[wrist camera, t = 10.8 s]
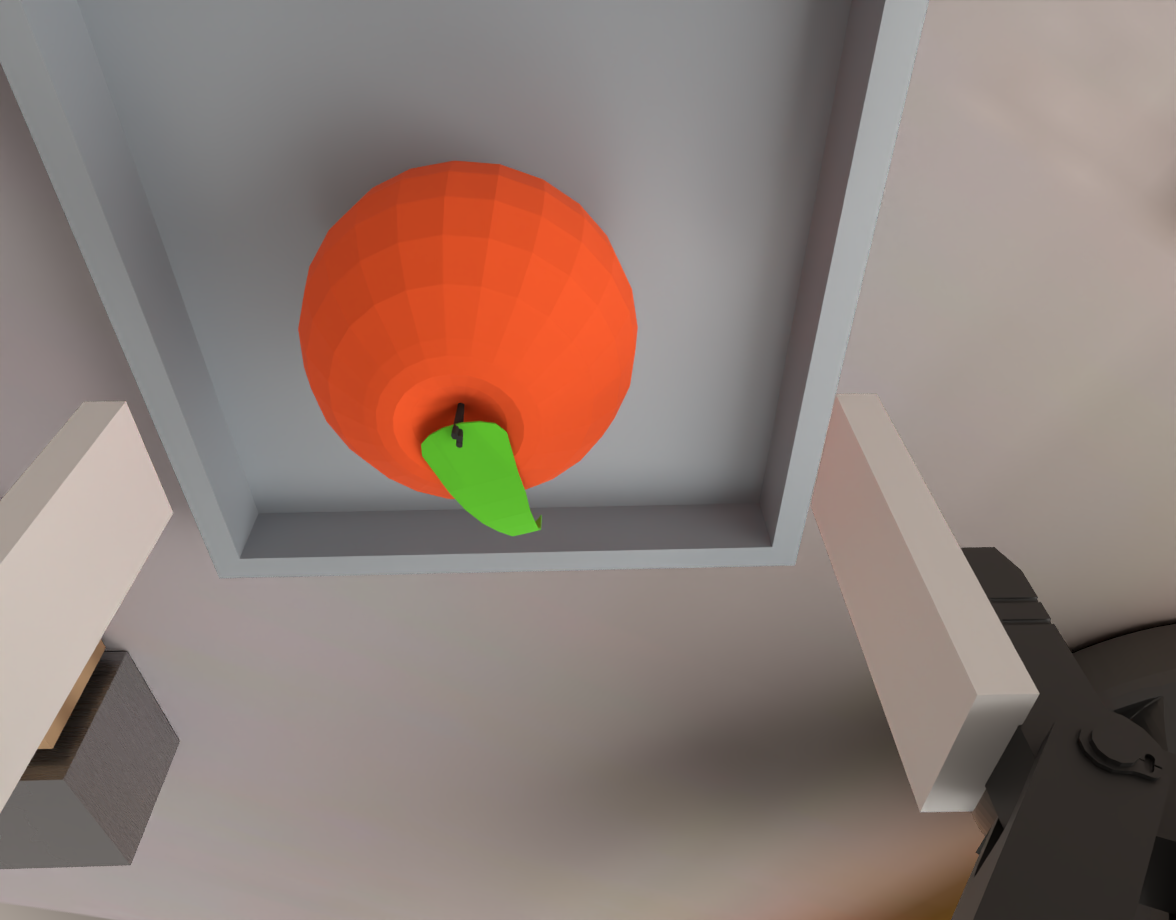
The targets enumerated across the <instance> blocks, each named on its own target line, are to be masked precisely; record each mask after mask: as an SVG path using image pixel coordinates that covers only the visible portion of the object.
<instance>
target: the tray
mask: <svg viewBox="0 0 1176 920" xmlns="http://www.w3.org/2000/svg"><path fill="white" fill-rule="evenodd" d="M928 3H929V0H0V63H1V65H2V68H3V70H4V72H5V75H6V77H7V80H8V82H9V84H10V87H11V89H12V91H13V94H14V96H15V98H16V101H17V103H18V105H19V108H20V110H21V112H22V115H23V117H24V119H25V122H26V124H27V127H28V129H29V131H30V134H31V136H32V138H33V141H34V143H35V145H36V148H37V150H38V152H39V155H40V157H41V159H42V162H43V164H44V167H45V169H46V171H47V174H48V176H49V178H50V181H51V183H52V185H53V188H54V190H55V192H56V195H57V197H58V199H59V202H60V204H61V207H62V209H63V211H64V214H65V216H66V218H67V221H68V223H69V225H70V228H71V230H72V232H73V235H74V237H75V239H76V242H77V244H78V247H79V249H80V251H81V254H82V256H83V258H84V261H85V263H86V265H87V268H88V270H89V272H90V275H91V277H92V279H93V282H94V284H95V286H96V289H97V291H98V294H99V296H100V298H101V301H102V303H103V305H104V308H105V310H106V312H107V315H108V317H109V319H110V322H111V324H112V326H113V329H114V331H115V334H116V336H117V338H118V341H119V343H120V345H121V348H122V350H123V352H124V355H125V357H126V359H127V362H128V364H129V366H130V369H131V371H132V374H133V376H134V378H135V381H136V383H137V385H138V388H139V390H140V392H141V395H142V397H143V399H144V402H145V404H146V406H147V409H148V411H149V413H150V416H151V418H152V421H153V423H154V425H155V428H156V430H157V432H158V435H159V437H160V439H161V442H162V444H163V446H164V449H165V451H166V453H167V456H168V458H169V461H170V463H171V465H172V468H173V470H174V472H175V475H176V477H177V479H178V482H179V484H180V486H181V489H182V491H183V493H184V496H185V498H186V501H187V503H188V505H189V508H190V510H191V512H192V515H193V517H194V519H195V522H196V524H197V526H198V529H199V531H200V533H201V536H202V538H203V541H204V543H205V545H206V548H207V550H208V552H209V555H210V557H211V559H212V562H213V564H214V566H215V569H216V571H217V573H218V576H219V578H257V577H302V576H346V575H391V574H436V573H481V572H525V571H570V570H615V569H660V568H704V567H749V566H794V565H795V564H796V559H797V555H798V551H799V547H800V543H801V538H802V534H803V530H804V526H805V522H806V517H807V513H808V509H809V505H810V500H811V496H812V492H813V488H814V484H815V479H816V475H817V471H818V467H819V463H820V458H821V454H822V450H823V446H824V441H825V437H826V433H827V429H828V425H829V420H830V416H831V412H832V408H833V404H834V399H835V395H836V391H837V387H838V382H839V378H840V374H841V370H842V366H843V361H844V357H845V353H846V349H847V345H848V340H849V336H850V332H851V328H852V323H853V319H854V315H855V311H856V307H857V302H858V298H859V294H860V290H861V286H862V281H863V277H864V273H865V269H866V264H867V260H868V256H869V252H870V248H871V243H872V239H873V235H874V231H875V227H876V222H877V218H878V214H879V210H880V205H881V201H882V197H883V193H884V189H885V184H886V180H887V176H888V172H889V168H890V163H891V159H892V155H893V151H894V146H895V142H896V138H897V134H898V130H899V125H900V121H901V117H902V113H903V109H904V104H905V100H906V96H907V92H908V87H909V83H910V79H911V75H912V71H913V66H914V62H915V58H916V54H917V50H918V45H919V41H920V37H921V33H922V28H923V24H924V20H925V16H926V12H927V7H928ZM449 161H467V162H479V163H491V164H501V165H504V166H507V167H509V168H512V169H515V170H518V171H521V172H524V173H526V174H529V175H532V176H535V177H538V178H541V179H543V180H545V181H546V182H548V183H549V184H551V185H552V186H554V187H555V188H557V189H558V190H560V191H561V192H563V193H564V194H566V195H567V196H569V197H570V198H571V199H573V200H574V201H576V202H577V203H579V204H580V205H581V206H582V207H583V209H584V210H585V211H586V212H587V213H588V214H589V215H590V217H591V218H592V219H593V220H594V221H595V222H596V223H597V225H598V226H599V227H600V228H601V229H602V230H603V232H604V233H605V234H606V235H607V237H608V239H609V241H610V243H611V245H612V247H613V250H614V252H615V254H616V256H617V258H618V260H619V262H620V264H621V266H622V269H623V271H624V273H625V275H626V277H627V279H628V282H629V284H630V286H631V288H632V293H633V299H634V306H635V312H636V319H637V326H638V330H637V340H636V350H635V357H634V363H633V370H632V376H631V383H630V387H629V389H628V391H627V394H626V396H625V398H624V400H623V402H622V404H621V406H620V408H619V410H618V412H617V414H616V416H615V418H614V420H613V421H612V423H611V424H610V426H609V427H608V429H607V430H606V432H605V433H604V435H603V436H602V437H601V438H600V439H599V441H598V442H597V443H596V444H595V445H594V446H593V447H592V448H591V449H590V451H589V452H588V453H587V454H586V455H585V456H584V457H583V458H582V460H581V461H579V462H578V463H576V464H575V465H573V466H572V467H570V468H569V469H567V470H566V471H564V472H563V473H561V474H560V475H558V476H557V477H555V478H554V479H552V480H550V481H547V482H545V483H542V484H539V485H537V486H534V487H532V488H529V489H526V490H525V491H526V495H527V499H528V503H529V507H530V511H531V513H532V515H533V518H534V520H535V522H536V520H537V519H538V518H539V517H540V515H542V522H541V530H538V531H534V532H530V533H526V534H521V535H517V536H510V535H507V534H504V533H501V532H498V531H496V530H494V529H492V528H491V527H489V526H487V525H485V524H483V523H481V522H480V521H479V520H478V519H476V518H475V517H474V516H472V515H471V514H470V513H469V512H467V511H466V510H465V509H464V508H463V507H462V506H461V505H460V504H459V503H458V502H457V500H456V499H446V498H442V497H438V496H434V495H430V494H426V493H422V492H418V491H415V490H413V489H411V488H409V487H407V486H404V485H402V484H400V483H398V482H396V481H394V480H391V479H389V478H388V477H386V476H385V475H384V474H382V473H381V472H380V471H378V470H377V469H376V468H374V467H373V466H371V465H370V464H369V463H367V462H366V461H365V460H363V459H362V458H361V457H360V456H358V455H357V454H356V453H354V452H353V451H352V450H350V449H349V448H348V446H347V445H346V444H345V443H344V442H343V440H342V439H341V438H340V437H339V436H338V435H337V433H336V432H335V431H334V430H333V429H332V427H331V426H330V425H329V424H328V423H327V421H326V419H325V417H324V415H323V413H322V411H321V409H320V407H319V405H318V402H317V400H316V398H315V396H314V394H313V392H312V390H311V387H310V384H309V381H308V378H307V375H306V372H305V369H304V364H303V358H302V351H301V345H300V338H299V332H298V327H299V320H300V314H301V308H302V302H303V296H304V290H305V285H306V280H307V276H308V271H309V266H310V264H311V263H312V261H313V259H314V257H315V255H316V253H317V251H318V249H319V247H320V246H321V244H322V242H323V240H324V238H325V236H326V234H327V232H328V230H329V229H330V228H331V227H332V226H333V225H334V224H335V223H336V222H337V221H338V220H339V219H340V218H341V217H342V216H343V215H345V214H346V213H347V212H348V211H349V210H350V209H351V208H352V207H353V206H354V205H355V204H356V203H357V202H358V201H359V200H360V199H361V198H362V197H363V196H364V195H365V194H366V193H367V192H368V191H370V190H371V189H372V188H373V187H375V186H377V185H379V184H381V183H383V182H385V181H387V180H389V179H391V178H393V177H395V176H397V175H399V174H401V173H403V172H405V171H407V170H409V169H411V168H417V167H422V166H427V165H433V164H438V163H444V162H449Z"/></svg>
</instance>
